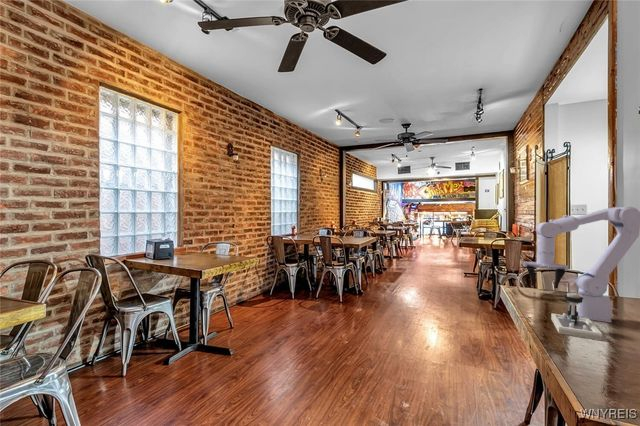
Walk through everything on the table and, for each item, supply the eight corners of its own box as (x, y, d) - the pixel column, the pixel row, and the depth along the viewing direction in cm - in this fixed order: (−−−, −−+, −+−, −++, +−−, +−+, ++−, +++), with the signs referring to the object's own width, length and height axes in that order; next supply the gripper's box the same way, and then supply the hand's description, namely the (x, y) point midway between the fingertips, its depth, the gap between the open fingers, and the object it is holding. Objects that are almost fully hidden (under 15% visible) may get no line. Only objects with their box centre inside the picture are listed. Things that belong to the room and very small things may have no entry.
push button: (582, 327, 109) (583, 297, 108) (562, 323, 112) (563, 294, 112) (582, 322, 114) (583, 293, 114) (563, 318, 117) (564, 291, 117)
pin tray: (588, 324, 116) (589, 315, 116) (601, 340, 102) (602, 330, 102) (551, 319, 121) (551, 310, 121) (558, 333, 107) (559, 323, 107)
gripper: (525, 251, 128) (523, 285, 129) (570, 255, 122) (568, 291, 122) (523, 250, 135) (522, 282, 135) (566, 253, 128) (565, 287, 128)
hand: (544, 286), depth 129 cm, fingers open, 7 cm apart
